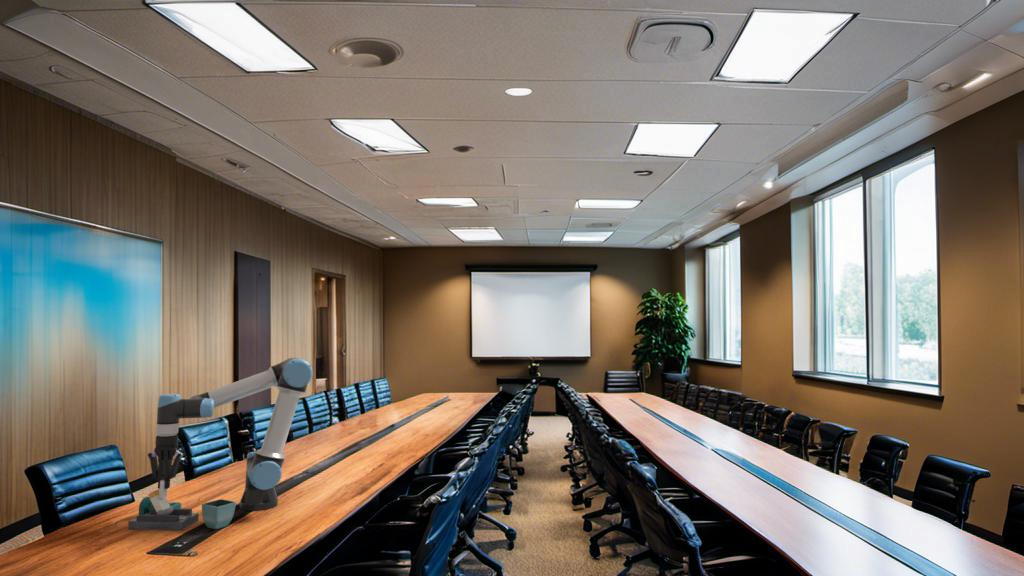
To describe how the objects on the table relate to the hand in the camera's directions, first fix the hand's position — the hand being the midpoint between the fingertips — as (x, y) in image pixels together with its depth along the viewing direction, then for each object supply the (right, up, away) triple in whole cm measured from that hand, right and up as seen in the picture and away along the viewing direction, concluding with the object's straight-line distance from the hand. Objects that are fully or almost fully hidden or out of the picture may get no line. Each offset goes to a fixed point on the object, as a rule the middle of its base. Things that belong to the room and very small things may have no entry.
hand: (163, 497), depth 231 cm
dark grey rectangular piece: (+1, -7, -1) cm, 7 cm away
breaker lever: (+2, -7, 0) cm, 7 cm away
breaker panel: (+1, -10, -1) cm, 10 cm away
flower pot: (+22, -11, -2) cm, 24 cm away
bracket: (-9, -12, +15) cm, 21 cm away
